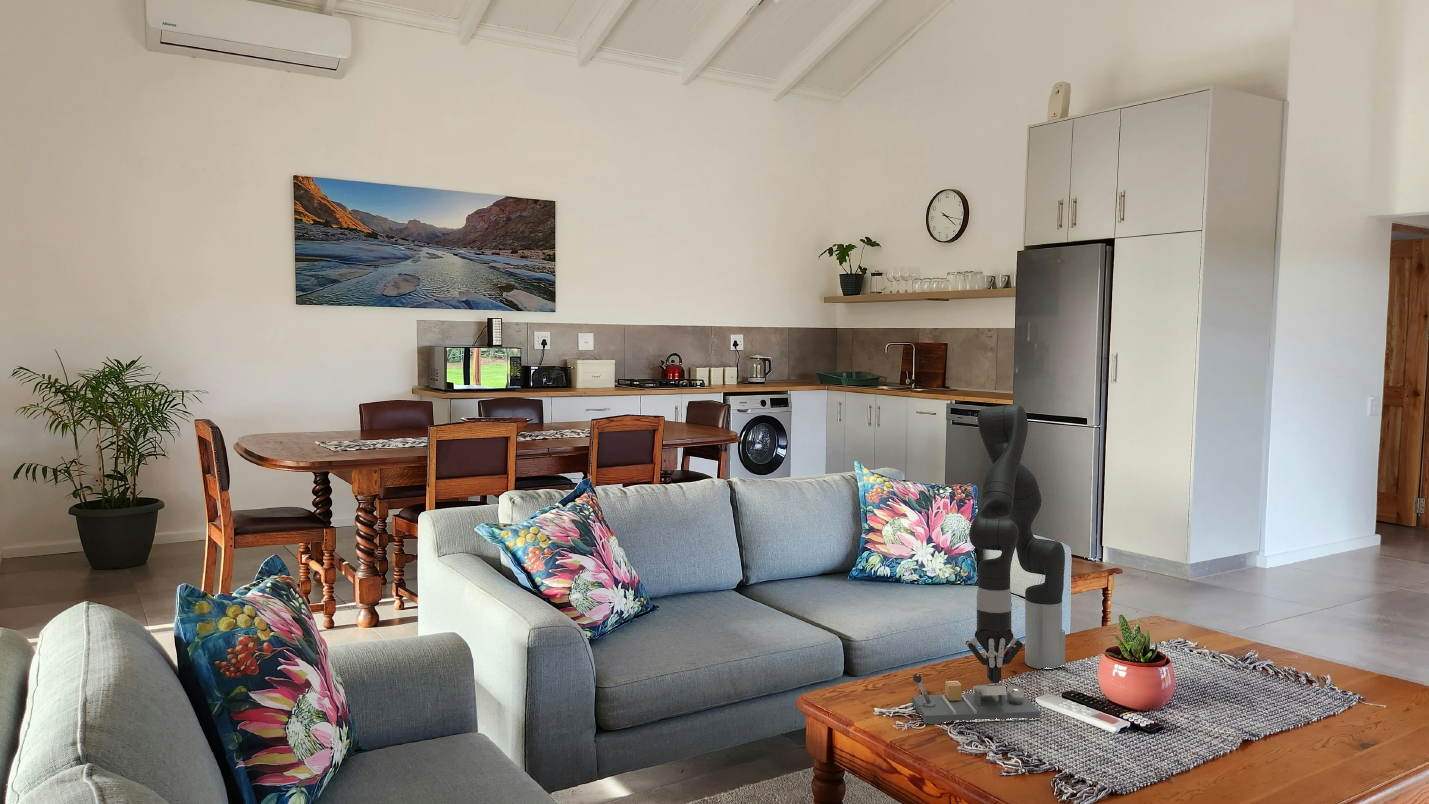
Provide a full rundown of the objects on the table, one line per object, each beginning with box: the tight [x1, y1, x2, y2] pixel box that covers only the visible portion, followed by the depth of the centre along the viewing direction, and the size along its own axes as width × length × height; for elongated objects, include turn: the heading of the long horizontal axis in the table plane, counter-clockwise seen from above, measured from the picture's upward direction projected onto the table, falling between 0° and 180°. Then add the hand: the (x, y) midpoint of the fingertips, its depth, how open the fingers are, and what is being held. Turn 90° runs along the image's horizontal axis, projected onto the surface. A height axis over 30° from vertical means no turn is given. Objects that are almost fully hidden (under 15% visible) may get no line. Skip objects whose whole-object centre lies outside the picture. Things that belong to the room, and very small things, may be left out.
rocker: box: [972, 683, 1007, 695], centre depth 216 cm, size 4×10×2 cm, turn 2°
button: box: [1006, 684, 1024, 704], centre depth 217 cm, size 4×4×3 cm
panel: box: [911, 688, 1041, 725], centre depth 216 cm, size 26×12×5 cm, turn 92°
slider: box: [944, 680, 963, 701], centre depth 219 cm, size 3×3×4 cm
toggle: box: [912, 673, 931, 704], centre depth 216 cm, size 2×2×8 cm
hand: (994, 681), depth 213 cm, fingers closed
